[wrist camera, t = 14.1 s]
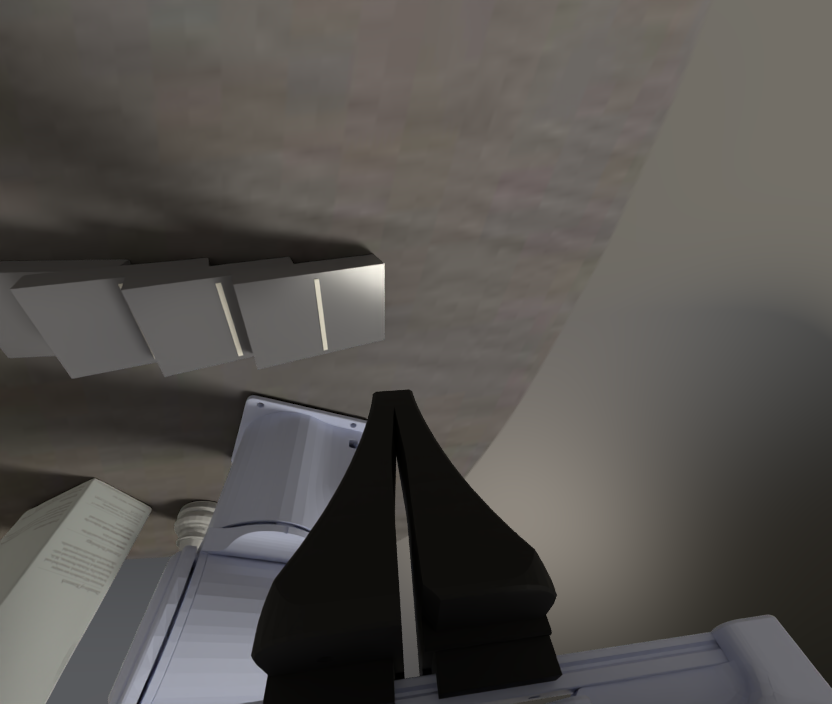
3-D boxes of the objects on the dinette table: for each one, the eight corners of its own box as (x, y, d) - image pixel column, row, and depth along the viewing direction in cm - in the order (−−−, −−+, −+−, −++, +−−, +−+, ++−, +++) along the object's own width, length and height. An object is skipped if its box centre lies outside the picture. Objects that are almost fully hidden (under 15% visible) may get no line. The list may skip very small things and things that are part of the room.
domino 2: (209, 268, 17) (8, 290, 14) (233, 348, 20) (71, 379, 17) (208, 257, 19) (24, 274, 16) (231, 333, 21) (79, 360, 18)
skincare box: (91, 534, 32) (-71, 785, 20) (22, 506, 29) (-222, 789, 17) (158, 504, 31) (26, 756, 19) (94, 472, 27) (-118, 755, 15)
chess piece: (183, 496, 31) (117, 635, 22) (235, 503, 32) (191, 635, 24) (178, 521, 33) (116, 656, 25) (227, 526, 34) (184, 655, 26)
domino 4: (384, 264, 18) (233, 285, 15) (385, 340, 21) (258, 370, 18) (373, 253, 20) (230, 271, 17) (374, 326, 22) (254, 353, 19)
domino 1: (111, 271, 17) (-64, 274, 16) (153, 351, 20) (7, 358, 19) (130, 258, 18) (-31, 261, 17) (167, 335, 21) (31, 341, 20)
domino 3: (295, 267, 18) (120, 290, 15) (308, 344, 21) (164, 377, 18) (288, 256, 19) (125, 275, 16) (301, 330, 22) (165, 359, 19)
